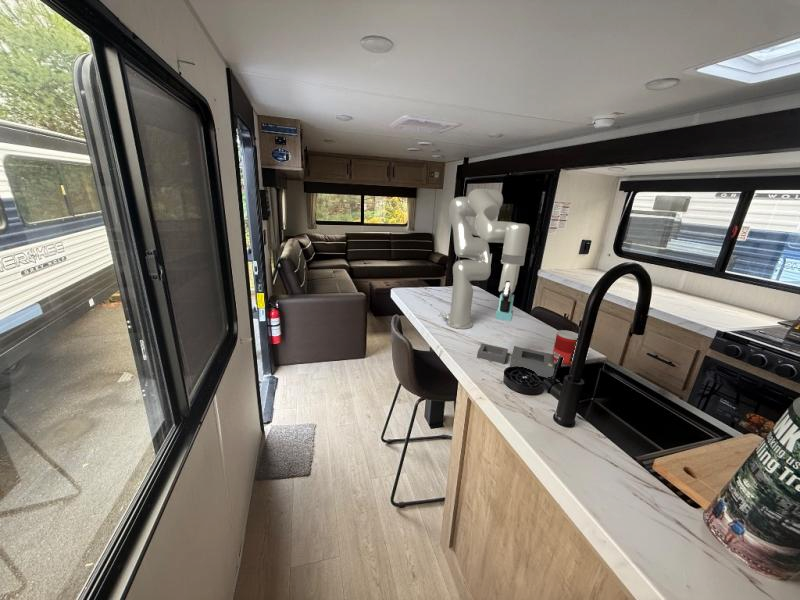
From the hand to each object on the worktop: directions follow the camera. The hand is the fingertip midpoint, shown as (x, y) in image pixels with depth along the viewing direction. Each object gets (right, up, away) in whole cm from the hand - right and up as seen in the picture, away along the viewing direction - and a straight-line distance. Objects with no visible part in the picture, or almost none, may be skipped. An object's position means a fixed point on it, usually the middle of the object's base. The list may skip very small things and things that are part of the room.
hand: (505, 309), depth 112 cm
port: (+10, -21, 0) cm, 23 cm away
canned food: (+25, -20, +6) cm, 32 cm away
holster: (-3, -18, +6) cm, 19 cm away
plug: (0, -3, +1) cm, 3 cm away
